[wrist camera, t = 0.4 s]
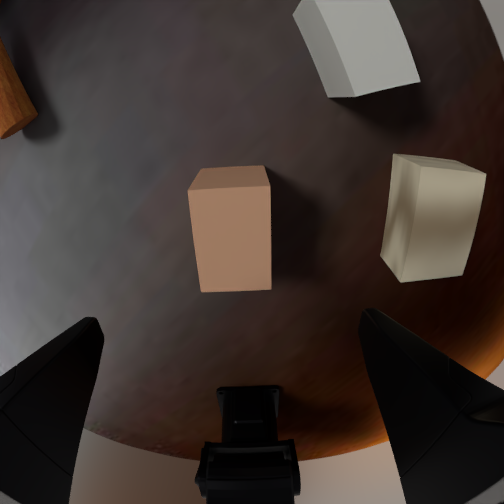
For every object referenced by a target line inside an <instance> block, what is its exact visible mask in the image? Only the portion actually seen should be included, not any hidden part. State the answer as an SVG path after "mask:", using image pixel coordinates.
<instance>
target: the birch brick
mask: <svg viewBox="0 0 504 504" xmlns="http://www.w3.org/2000/svg"><path fill="white" fill-rule="evenodd" d="M485 179H486V174H485V173H483V172H481V171H478V170H476V169H474V168H472V167H469V166H467V165H465V164H463V163H460V162H458V161H454V160H447V159H439V158H431V157H422V156H412V155H402V154H393V163H392V175H391V185H390V194H389V202H388V210H387V218H386V225H385V231H384V238H383V244H382V250H381V255H380V256H381V257H382V258H383V260H384V261H385V262H386V264H387V265H388V266H389V268H390V269H391V270H392V272H393V273H394V274H395V276H396V277H397V278H398V280H399V281H400V282H410V281H419V280H428V279H436V278H445V277H453V276H461V275H462V274H463V271H464V268H465V265H466V262H467V259H468V255H469V252H470V248H471V245H472V241H473V237H474V233H475V229H476V225H477V221H478V216H479V212H480V207H481V202H482V197H483V191H484V185H485Z"/></svg>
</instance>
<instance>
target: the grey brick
mask: <svg viewBox="0 0 504 504" xmlns="http://www.w3.org/2000/svg"><path fill="white" fill-rule="evenodd" d="M293 17H294V19H295V21H296V23H297V25H298V27H299V29H300V32H301V34H302V36H303V38H304V40H305V43H306V45H307V47H308V49H309V52H310V54H311V56H312V59H313V61H314V63H315V66H316V68H317V71H318V73H319V76H320V78H321V81H322V83H323V86H324V88H325V91H326V94H327V96H328V98H329V97H357V96H361V95H364V94H368V93H372V92H376V91H380V90H384V89H389V88H393V87H397V86H402V85H407V84H411V83H416V82H420V79H419V75H418V72H417V69H416V66H415V63H414V60H413V57H412V54H411V52H410V49H409V46H408V44H407V41H406V38H405V36H404V33H403V31H402V28H401V26H400V24H399V21H398V19H397V17H396V14H395V12H394V10H393V8H392V6H391V4H390V2H389V0H301V2H300V4H299V5H298V7H297V9H296V10H295V12H294V14H293Z"/></svg>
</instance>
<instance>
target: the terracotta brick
mask: <svg viewBox="0 0 504 504" xmlns="http://www.w3.org/2000/svg"><path fill="white" fill-rule="evenodd" d="M188 198H189V207H190V215H191V223H192V231H193V239H194V246H195V253H196V260H197V267H198V274H199V281H200V287H201V292H222V291H248V290H270V289H271V196H270V183H269V180H268V177H267V174H266V171H265V167H264V166H239V167H221V168H206V169H201V170H200V171H199V173H198V175H197V176H196V178H195V179H194V181H193V183H192V184H191V186H190V187H189V189H188Z"/></svg>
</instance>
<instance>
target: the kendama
mask: <svg viewBox="0 0 504 504" xmlns="http://www.w3.org/2000/svg"><path fill="white" fill-rule="evenodd" d="M1 1H2V0H0V3H1ZM37 116H38V113H37V111H36V109H35V107H34V106H33V104H32V102H31V100H30V98H29V96H28V94H27V93H26V91H25V89H24V87H23V85H22V83H21V81H20V79H19V77H18V75H17V73H16V71H15V69H14V67H13V64H12V62H11V60H10V58H9V56H8V54H7V51H6V49H5V47H4V44H3V42H2V40H1V37H0V136H1V139H5V138H7V137H9V136H11V135H13V134H15V133H16V132H18V131H19V130H21V129H23V128H24V127H25V126H26V125H27V124H29V123H30V122H31V121H32V120H33V119H34V118H36V117H37Z"/></svg>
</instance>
